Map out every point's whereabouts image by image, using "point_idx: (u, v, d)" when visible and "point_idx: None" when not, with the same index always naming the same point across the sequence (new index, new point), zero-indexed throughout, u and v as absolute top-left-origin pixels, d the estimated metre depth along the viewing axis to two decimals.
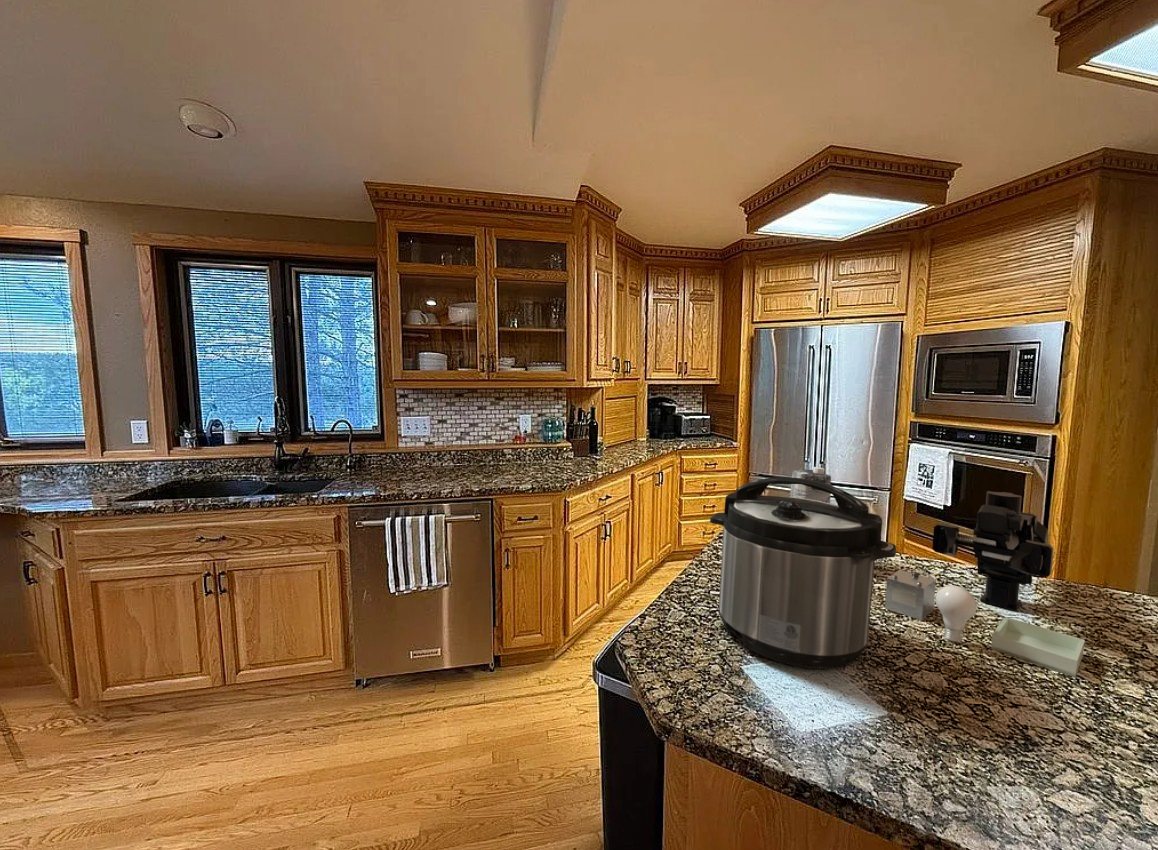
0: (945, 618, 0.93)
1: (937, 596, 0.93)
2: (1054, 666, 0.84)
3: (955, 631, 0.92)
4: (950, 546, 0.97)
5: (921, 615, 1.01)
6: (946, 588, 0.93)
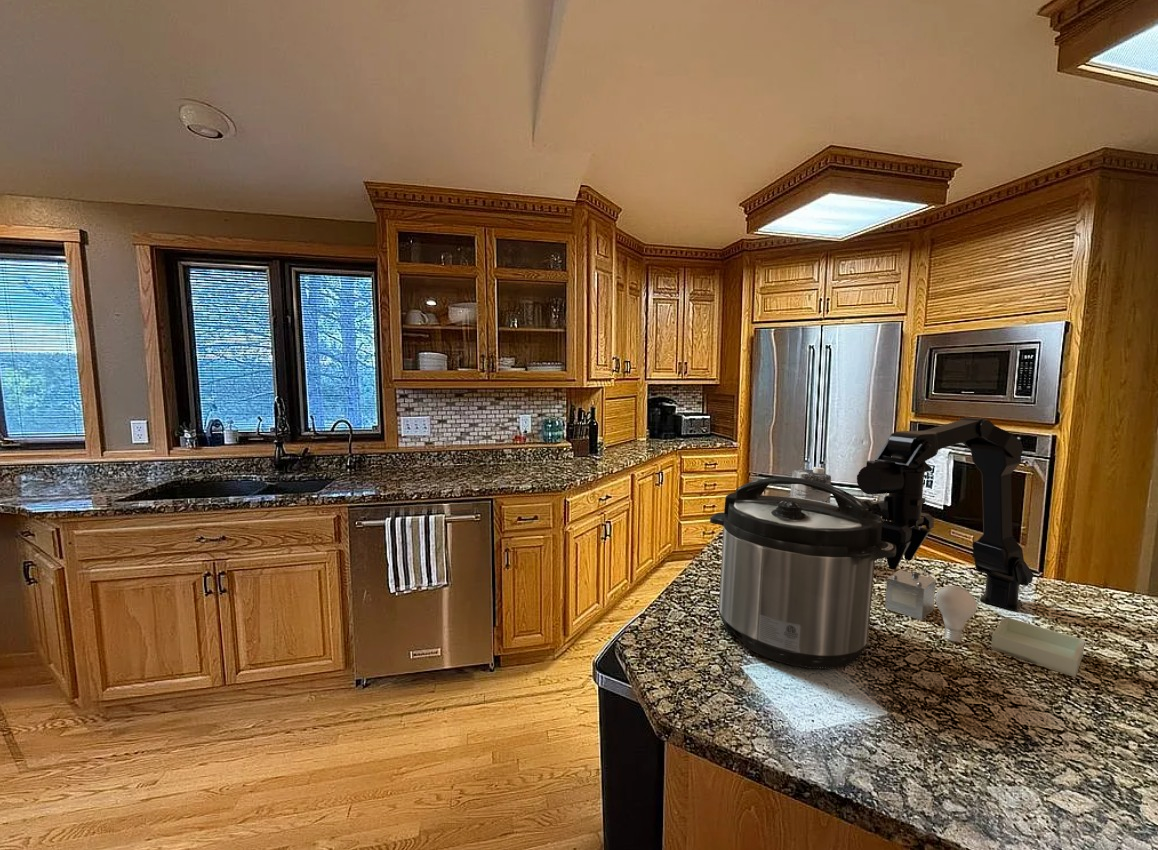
0: (945, 618, 0.93)
1: (937, 596, 0.93)
2: (1054, 666, 0.84)
3: (955, 631, 0.92)
4: None
5: (921, 615, 1.01)
6: (946, 588, 0.93)
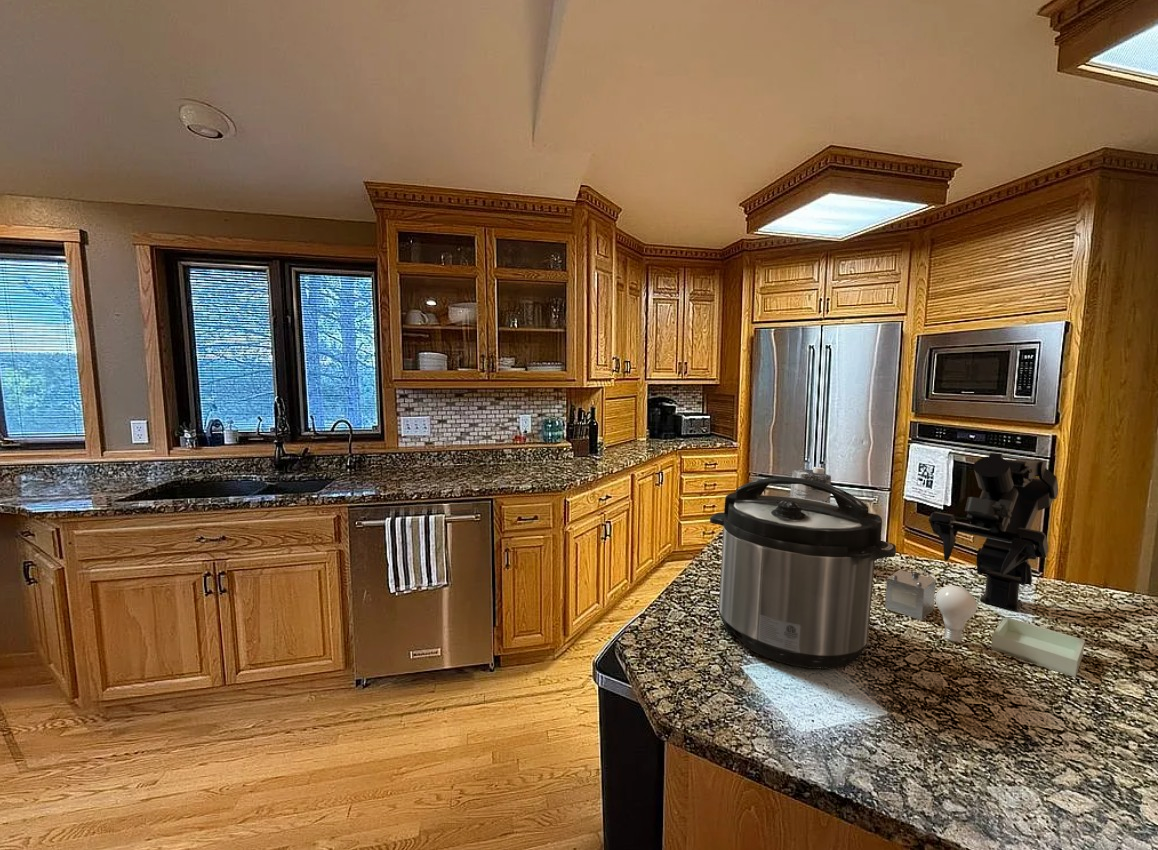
0: (945, 618, 0.93)
1: (937, 596, 0.93)
2: (1054, 666, 0.84)
3: (955, 631, 0.92)
4: (945, 555, 1.01)
5: (921, 615, 1.01)
6: (946, 588, 0.93)
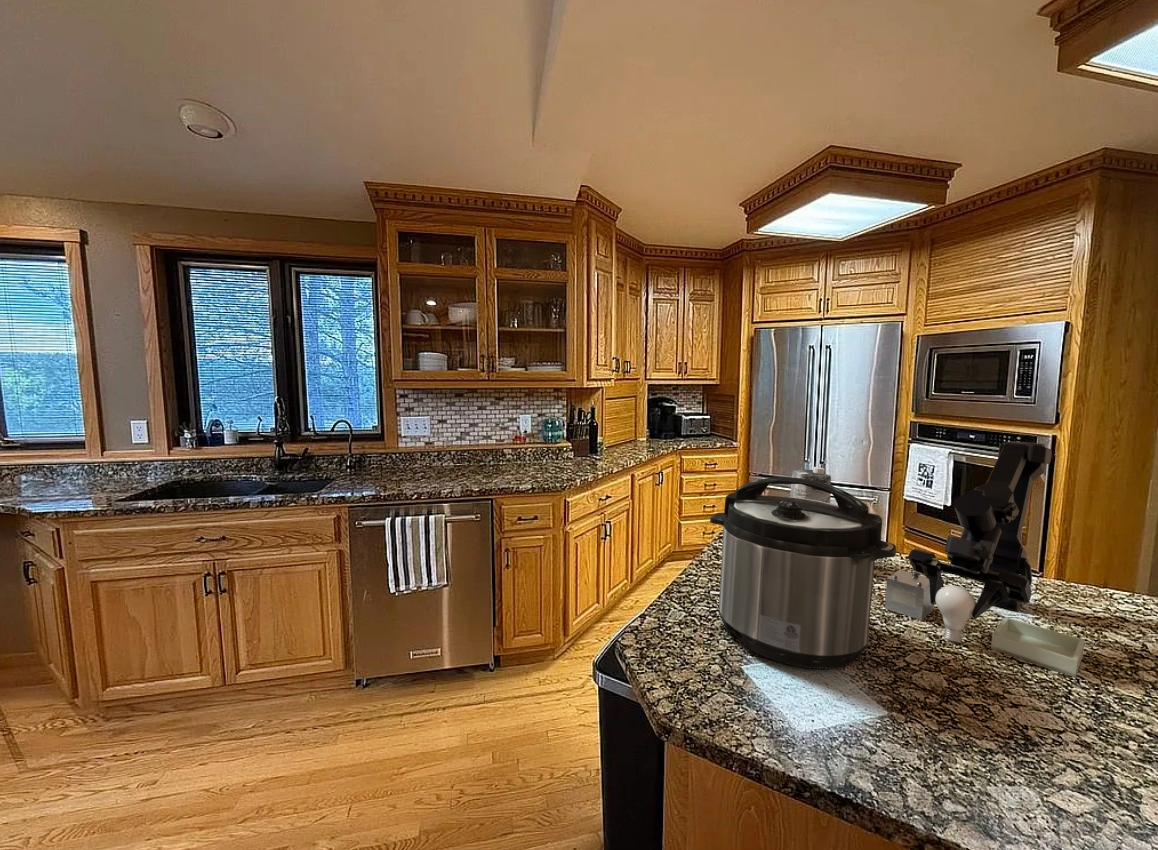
0: (945, 618, 0.93)
1: (937, 596, 0.93)
2: (1054, 666, 0.84)
3: (955, 631, 0.92)
4: (932, 598, 0.95)
5: (921, 615, 1.01)
6: (946, 588, 0.93)
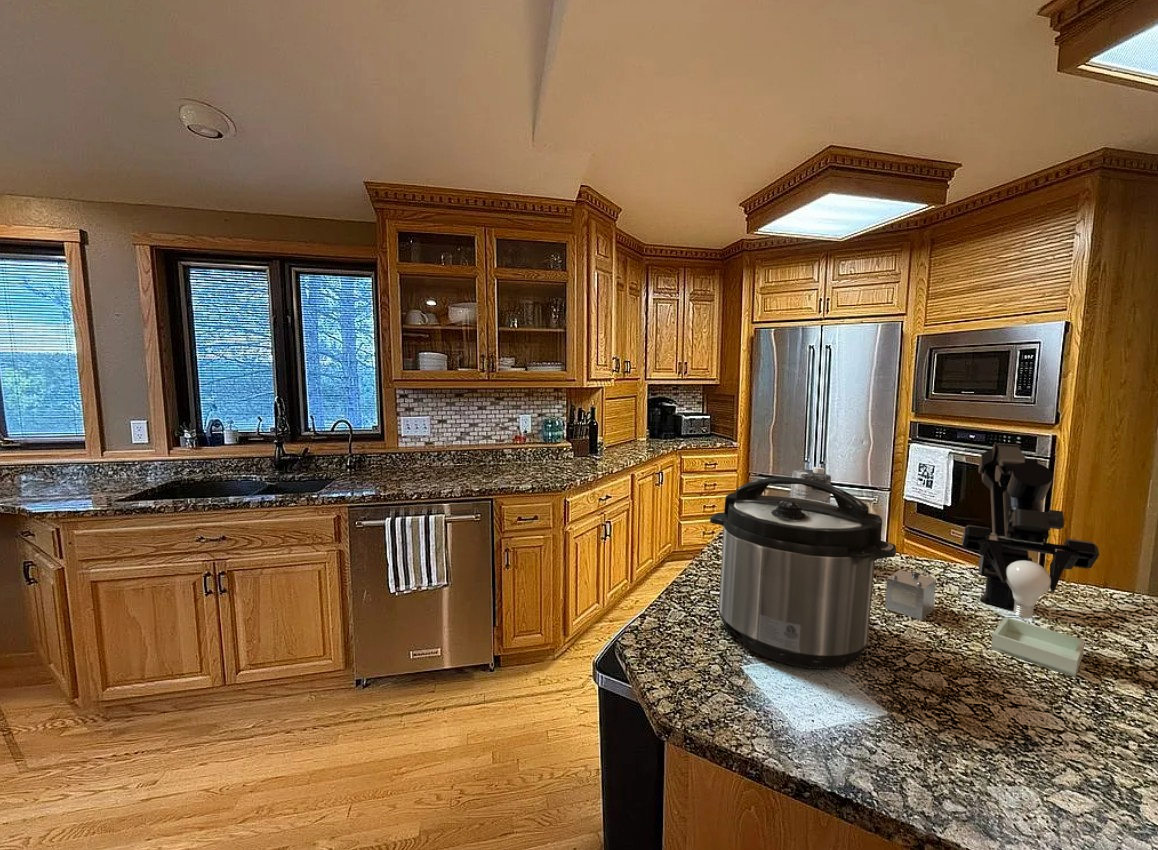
0: (1020, 595, 0.88)
1: (1012, 573, 0.89)
2: (1054, 666, 0.84)
3: (1029, 607, 0.88)
4: (1004, 576, 0.90)
5: (921, 615, 1.01)
6: (1020, 564, 0.88)
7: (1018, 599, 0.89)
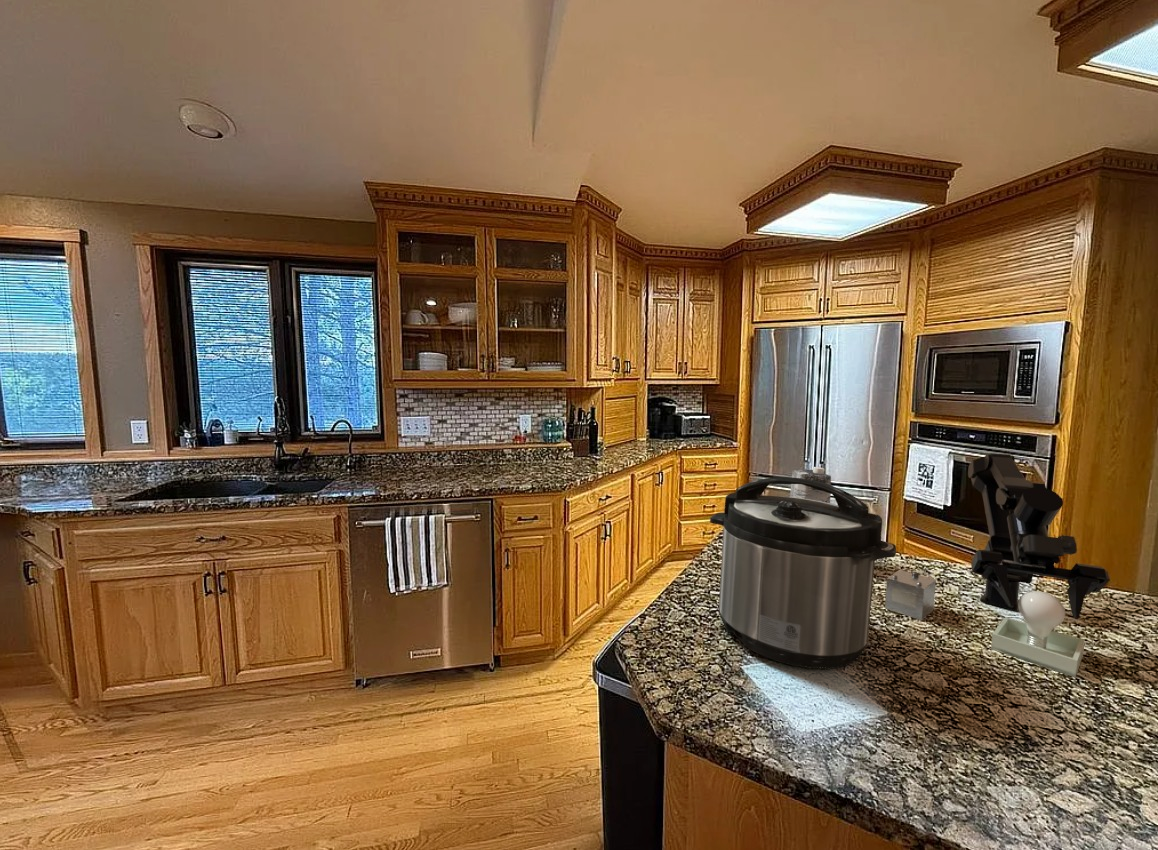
0: (1035, 627, 0.88)
1: (1027, 605, 0.88)
2: (1054, 666, 0.84)
3: (1044, 639, 0.88)
4: (1011, 601, 0.90)
5: (921, 615, 1.01)
6: (1035, 596, 0.88)
7: (1033, 630, 0.89)
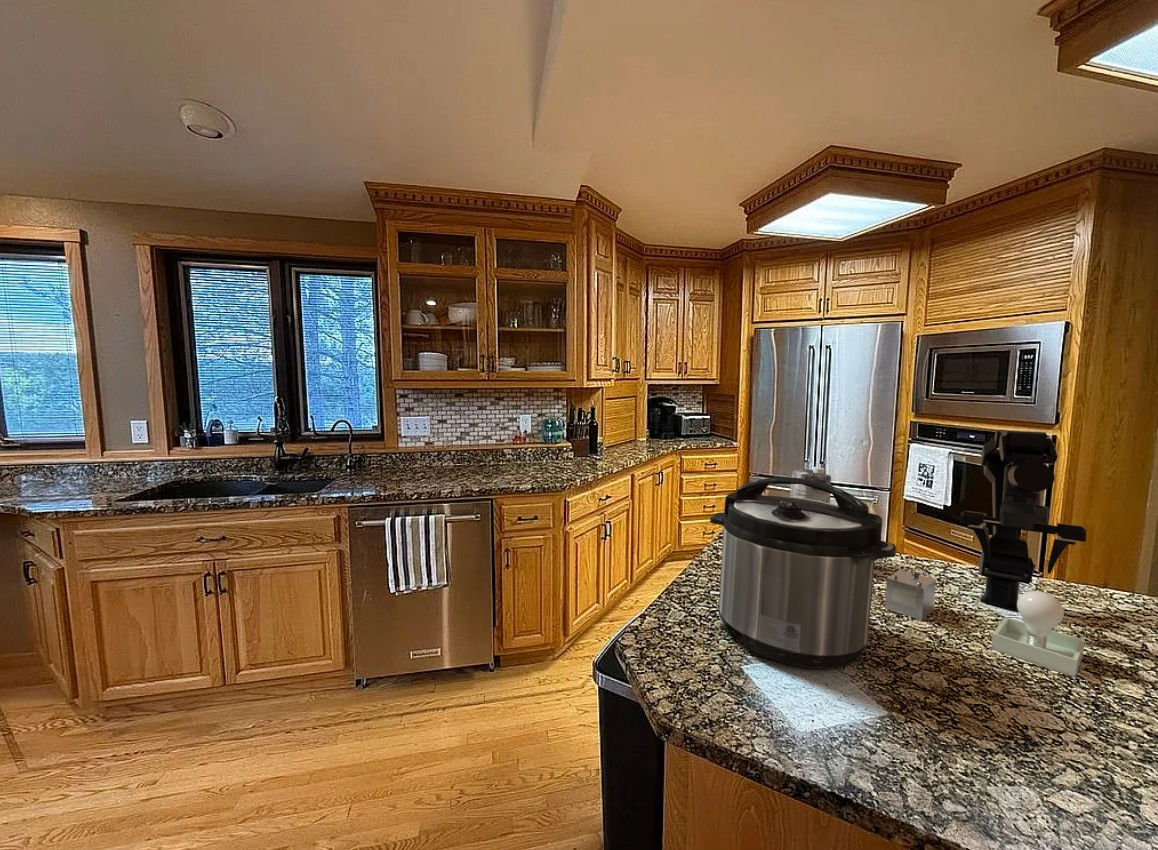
0: (1034, 627, 0.88)
1: (1026, 605, 0.89)
2: (1054, 666, 0.84)
3: (1044, 639, 0.88)
4: (987, 558, 1.00)
5: (921, 615, 1.01)
6: (1034, 595, 0.89)
7: (1032, 630, 0.89)
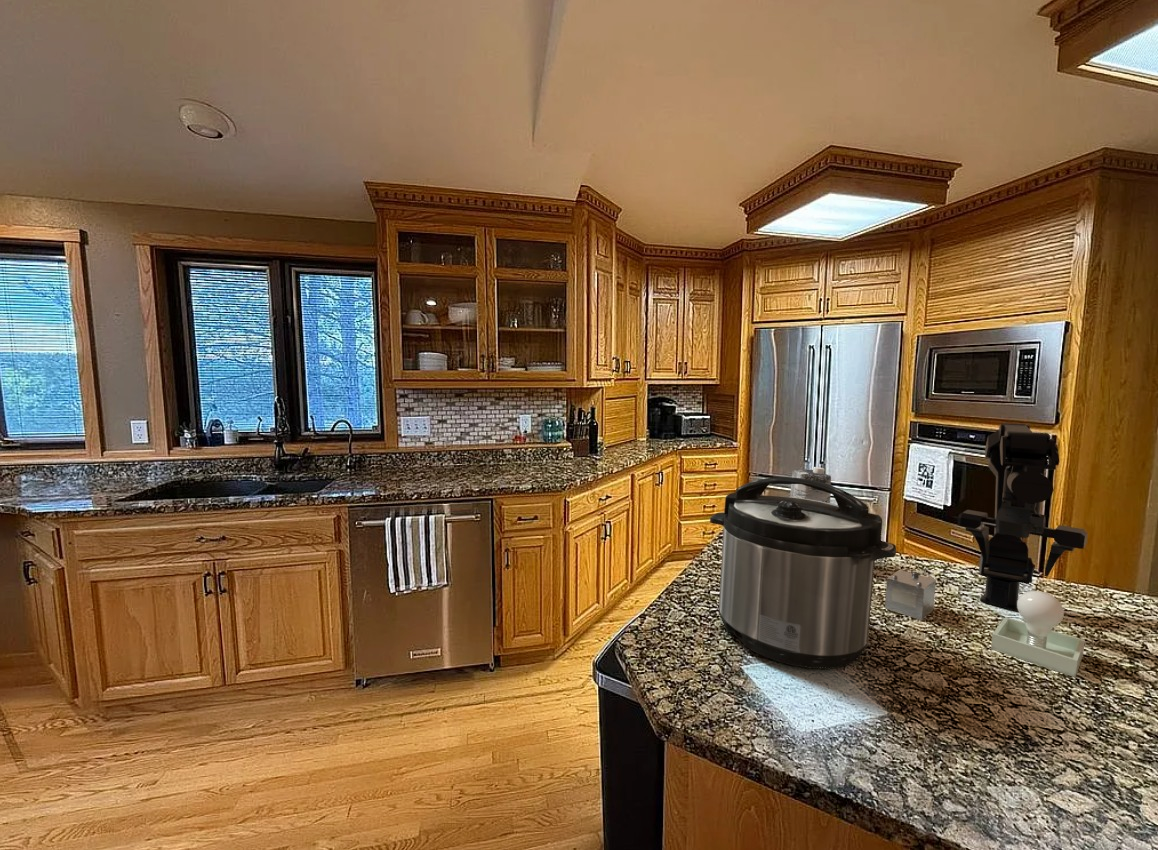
0: (1034, 627, 0.88)
1: (1026, 604, 0.89)
2: (1054, 666, 0.84)
3: (1044, 638, 0.88)
4: (985, 559, 1.00)
5: (921, 615, 1.01)
6: (1034, 595, 0.89)
7: (1032, 630, 0.89)
